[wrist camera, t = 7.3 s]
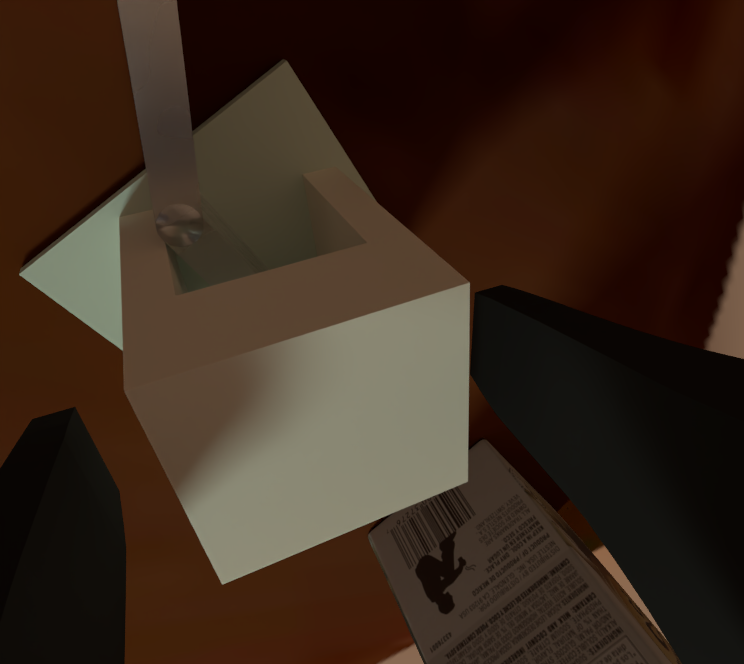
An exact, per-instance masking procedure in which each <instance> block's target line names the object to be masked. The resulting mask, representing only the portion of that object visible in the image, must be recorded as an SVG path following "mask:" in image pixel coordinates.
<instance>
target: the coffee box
mask: <svg viewBox="0 0 744 664" xmlns="http://www.w3.org/2000/svg"><path fill="white" fill-rule="evenodd" d="M368 538H369V541H370V543H371V546H372V548H373V550H374V552H375V554H376V557H377V559H378V561H379V563H380V565H381V568H382V570H383V572H384V574H385V576H386V579H387V581H388V583H389V586H390V588H391V590H392V592H393V595H394V597H395V599H396V601H397V604H398V606H399V608H400V610H401V612H402V615H403V617H404V619H405V622H406V624H407V626H408V629H409V631H410V633H411V636H412V638H413V640H414V642H415V644H416V647H417V649H418V651H419V654H420V656H421V658H422V660H423V662H424V664H682V663H681V661H680V660H679V658H678V657H677V655H676V653H675V652H674V650H673V649H672V647H671V645H670V644H669V643H668V641H667V640H666V639H665V638H664V637H663V636H662V634H661V633H660V632H659V631H658V630H657V628H656V627H655V626H654V625H653V624H652V622H651V621H650V620H649V619H648V618H647V617H646V615H645V614H644V613H643V612H642V611H641V609H640V608H639V607H638V606H637V605H636V603H635V602H634V601H633V600H632V599H631V598H630V597H629V595H628V594H627V593H626V592H625V591H624V589H623V588H622V587H621V586H620V585H619V583H618V582H617V581H616V580H615V579H614V578H613V577H612V575H611V574H610V573H609V572H608V571H607V570H606V568H605V567H604V566H603V565H602V564H601V563H600V561H599V560H598V559H597V558H596V557H595V556H594V554H593V553H592V552H591V551H590V550H589V549H588V547H587V546H586V545H585V544H584V543H583V541H582V540H581V539H580V538H579V537H578V536H577V535H576V533H575V532H574V531H573V530H572V529H571V528H570V527H569V525H568V524H567V523H566V522H565V521H564V520H563V519H562V518H561V516H560V515H559V514H558V513H557V512H556V511H555V510H554V509H553V508H552V506H551V505H550V504H549V503H548V502H547V501H546V500H545V499H544V498H543V497H542V496H541V495H540V494H539V493H538V492H537V491H536V490H535V489H534V488H533V487H532V486H531V485H530V484H529V483H528V482H527V481H526V480H525V479H524V478H523V477H522V476H521V475H520V474H519V473H518V472H517V471H516V470H515V469H514V468H513V467H512V466H511V465H510V464H509V463H508V462H507V461H506V460H505V458H504V457H503V456H502V455H501V454H500V453H499V452H498V451H497V450H496V449H495V448H494V447H493V446H492V445H491V444H490V443H489V442H488V441H487V440H484V439H483V440H481V441H479V442H478V443H477V444H476V445H474V446H473V447H472V448H471V449H470V450H468V482H466V483H463V484H461V485H459V486H456V487H454V488H452V489H449V490H447V491H444V492H442V493H440V494H437V495H435V496H432V497H430V498H428V499H425V500H423V501H421V502H418V503H416V504H413V505H411V506H409V507H406V508H404V509H401V510H399V511H397V512H394V513H393V514H391V515H390V516H389V517H388V518H386V519H385V520H384V521H383V522H382V523H380V524H379V525H378V526H377V527H375V528H374V529H373V530H372V531H371V532H370V533H369V536H368Z"/></svg>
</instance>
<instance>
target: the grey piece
mask: <svg viewBox="0 0 744 664" xmlns="http://www.w3.org/2000/svg"><path fill="white" fill-rule="evenodd" d="M117 3H118V9H119V14H120V20H121V26H122V32H123V38H124V44H125V49H126V55H127V61H128V67H129V73H130V78H131V84H132V90H133V96H134V102H135V108H136V113H137V119H138V125H139V131H140V137H141V143H142V148H143V154H144V160H145V166H146V172H147V178H148V183H149V190H150V196H151V202H152V207H153V213H154V219H155V225H156V230H157V233H158V235H159V236H160V237H161V239H162V240H163V241H164V242H165V243H167V244H168V245H169V246H170V247H171V248H172V249H173V250H174V251H175V252H176V253H177V254H178V255H179V256H180V257H181V258H182V259H183V260H184V261H185V262H186V263H187V264H188V265H189V266H190V267H191V268H193V269H194V270H195V271H196V272H197V273H198V274H199V275H200V276H201V277H202V278H203V279H204V280H205V281H206V282H207V283H208V284H209V285H210V286H213V285H217V284H220V283H224V282H228V281H231V280H235V279H239V278H242V277H246V276H249V275H253V274H257V273H260V272H264V271H267V270H269V268H268V267H267V266H266V265H265V264H264V263H263V262H262V261H261V260H260V258H259V257H258V256H257V255H256V254H255V253H254V252H253V251H252V250H251V249H250V247H249V246H248V245H247V244H246V243H245V242H244V241H243V240H242V239H241V237H240V236H239V235H238V234H237V233H236V232H235V231H234V230H233V229H232V228H231V226H230V225H229V224H228V223H227V222H226V221H225V220H224V219H223V218H222V216H221V215H220V214H219V213H218V212H217V211H216V210H215V209H214V208H213V207H212V205H211V204H210V203H209V202H208V201H207V200H206V199H205V198H204V197H203V195H202V194H201V193H200V191H199V182H198V174H197V166H196V158H195V149H194V141H193V133H192V124H191V116H190V108H189V99H188V91H187V83H186V75H185V66H184V58H183V50H182V41H181V33H180V25H179V16H178V8H177V0H117Z"/></svg>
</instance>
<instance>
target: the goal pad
mask: <svg viewBox="0 0 744 664" xmlns="http://www.w3.org/2000/svg"><path fill="white" fill-rule="evenodd" d="M192 133H193V141H194V149H195V158H196V166H197V174H198V182H199V191H200V193H201V194H202V195H203V197H204V198H205V199H206V200H207V201H208V202H209V203H210V204H211V205H212V207H213V208H214V209H215V210H216V211H217V212H218V213H219V214H220V215H221V216H222V218H223V219H224V220H225V221H226V222H227V223H228V224H229V225H230V226H231V228H232V229H233V230H234V231H235V232H236V233H237V234H238V235H239V236H240V237H241V239H242V240H243V241H244V242H245V243H246V244H247V245H248V246H249V247H250V249H251V250H252V251H253V252H254V253H255V254H256V255H257V256H258V257H259V258H260V260H261V261H262V262H263V263H264V264H265V265H266V266H267V267H268V268H269V270H271V269H275V268H278V267H282V266H285V265H289V264H293V263H296V262H300V261H303V260H307V259H311V258H314V257H317V252H316V247H315V241H314V236H313V230H312V225H311V219H310V214H309V208H308V203H307V197H306V192H305V186H304V181H303V175H302V174H306V173H310V172H314V171H318V170H323V169H327V168H331V167H337V168H338V169H339V170H340V171H341V172H342V173H344V174H345V175H346V176H347V177H348V178H349V179H351V180H352V181H353V182H354V183H355V184H356V185H357V186H359V187H360V188H361V189H362V190H363V191H364V192H366V193H367V194H368V195H369V196H370V197H371V198H373V199H374V200H375V198H374V197H373V195H372V194H371V192H370V191H369V189H368V187H367V186H366V184H365V183H364V181H363V180H362V178H361V176H360V175H359V173H358V172H357V170H356V169H355V167H354V165H353V164H352V162H351V161H350V159H349V158H348V156H347V154H346V153H345V151H344V150H343V148H342V147H341V145H340V143H339V142H338V140H337V139H336V137H335V136H334V134H333V132H332V131H331V129H330V128H329V126H328V125H327V123H326V121H325V120H324V118H323V117H322V115H321V114H320V112H319V110H318V109H317V107H316V106H315V104H314V103H313V101H312V99H311V98H310V96H309V95H308V93H307V92H306V90H305V88H304V87H303V85H302V84H301V82H300V81H299V79H298V77H297V76H296V74H295V73H294V71H293V70H292V68H291V66H290V65H289V63H288V62H287V61H286V60H284V59H282V60H281V61H280V62H279V63H277V64H276V65H275V66H274V67H272V68H271V69H270V70H269V71H267V72H266V73H265V74H264V75H262V76H261V77H260V78H259V79H257V80H256V81H255V82H254V83H252V84H251V85H250V86H249V87H247V88H246V89H245V90H244V91H242V92H241V93H240V94H239V95H237V96H236V97H235V98H234V99H232V100H231V101H230V102H229V103H227V104H226V105H225V106H224V107H222V108H221V109H220V110H219V111H217V112H216V113H215V114H214V115H212V116H211V117H210V118H209V119H207V120H206V121H205V122H204V123H202V124H201V125H200V126H199V127H197V128H196V129H195V130H193V131H192ZM375 201H376V200H375ZM152 209H153V207H152V202H151V196H150V190H149V183H148V178H147V172H146V169H145V170H143V171H142V172H141V173H140V174H138V175H137V176H136V177H135V178H133V179H132V180H131V181H130V182H128V183H127V184H126V185H125V186H123V187H122V188H121V189H120V190H118V191H117V192H116V193H115V194H113V195H112V196H111V197H110V198H108V199H107V200H106V201H104V202H103V203H102V204H101V205H99V206H98V207H97V208H96V209H94V210H93V211H92V212H91V213H89V214H88V215H87V216H86V217H84V218H83V219H82V220H81V221H79V222H78V223H77V224H76V225H74V226H73V227H72V228H71V229H69V230H68V231H67V232H66V233H64V234H63V235H62V236H61V237H59V238H58V239H57V240H56V241H54V242H53V243H52V244H51V245H49V246H48V247H47V248H46V249H44V250H43V251H42V252H41V253H39V254H38V255H37V256H36V257H34V258H33V259H32V260H31V261H29V262H28V263H27V264H26V265H24V266H23V267H22V268H21V269H20V273H19V275H20V276H22V277H23V278H25V279H26V280H27V281H29V282H30V283H31V284H33V285H34V286H35V287H37V288H38V289H40V290H41V291H42V292H44V293H45V294H46V295H48V296H49V297H50V298H52V299H53V300H54V301H56V302H57V303H59V304H60V305H61V306H63V307H64V308H65V309H67V310H68V311H69V312H71V313H72V314H74V315H75V316H76V317H78V318H79V319H80V320H82V321H83V322H84V323H86V324H87V325H89V326H90V327H91V328H93V329H94V330H95V331H97V332H98V333H99V334H101V335H102V336H104V337H105V338H106V339H108V340H109V341H110V342H112V343H113V344H114V345H116V346H117V347H119V348H120V349H121V350H123V336H122V302H121V268H120V235H119V217H122V216H127V215H131V214H135V213H139V212H144V211H148V210H152ZM173 251H174V250H173ZM174 254H175V256H176V259H177V262H178V265H179V268H180V270H181V273H182V276H183V279H184V282H185V284H186V287H187V290H188V292H192V291H195V290H199V289H202V288H206V287H210V285H209V284H208V283H207V282H206V281H205V280H204V279H203V278H202V277H201V276H200V275H199V274H198V273H197V272H196V271H195V270H194V269H193V268H191V267H190V266H189V265H188V264H187V263H186V262H185V261H184V260H183V259H182V258H181V257H180V256H179V255H178V254H177V253H176V252H175V251H174Z"/></svg>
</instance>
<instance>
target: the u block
mask: <svg viewBox="0 0 744 664" xmlns="http://www.w3.org/2000/svg"><path fill="white" fill-rule="evenodd" d="M302 175H303V181H304V186H305V192H306V197H307V203H308V208H309V214H310V219H311V225H312V230H313V236H314V241H315V247H316V252H317V257H314V258H311V259H307V260H303V261H300V262H296V263H293V264H289V265H285V266H282V267H278V268H275V269H271V270H267V271H264V272H260V273H257V274H253V275H249V276H246V277H242V278H239V279H235V280H231V281H228V282H224V283H220V284H217V285H213V286H210V287H206V288H202V289H199V290H195V291H192V292H188V290H187V287H186V284H185V282H184V279H183V276H182V273H181V270H180V268H179V265H178V262H177V259H176V256H175V254H174V251H173V249H172V248H171V247H170V246H169V245H168V244H167V243H165V242H164V241H163V240H162V239H161V237H160V236H159V235H158V233H157V230H156V225H155V219H154V213H153V209H152V210H148V211H144V212H139V213H135V214H131V215H127V216H122V217H119V235H120V268H121V302H122V336H123V369H124V392H125V394H126V396H127V398H128V400H129V402H130V403H131V405H132V407H133V409H134V411H135V413H136V415H137V417H138V419H139V421H140V423H141V425H142V427H143V429H144V431H145V433H146V435H147V437H148V439H149V441H150V443H151V445H152V447H153V449H154V451H155V453H156V455H157V457H158V459H159V461H160V463H161V465H162V467H163V469H164V471H165V473H166V475H167V477H168V479H169V480H170V482H171V484H172V486H173V488H174V490H175V492H176V494H177V496H178V498H179V500H180V502H181V504H182V506H183V508H184V510H185V512H186V514H187V516H188V518H189V520H190V522H191V524H192V526H193V528H194V530H195V532H196V534H197V536H198V538H199V540H200V542H201V544H202V546H203V548H204V550H205V552H206V554H207V556H208V557H209V559H210V561H211V563H212V565H213V567H214V569H215V571H216V573H217V575H218V577H219V579H220V581H221V583H222V585H223V584H225V583H227V582H230V581H232V580H235V579H237V578H239V577H242V576H244V575H246V574H249V573H251V572H254V571H256V570H258V569H261V568H263V567H266V566H268V565H270V564H273V563H275V562H277V561H280V560H282V559H285V558H287V557H289V556H292V555H294V554H297V553H299V552H301V551H304V550H306V549H308V548H311V547H313V546H316V545H318V544H320V543H323V542H325V541H328V540H330V539H332V538H335V537H337V536H339V535H342V534H344V533H347V532H349V531H351V530H354V529H356V528H359V527H361V526H363V525H366V524H368V523H370V522H373V521H375V520H378V519H380V518H382V517H385V516H387V515H390V514H392V513H394V512H397V511H399V510H401V509H404V508H406V507H409V506H411V505H413V504H416V503H418V502H421V501H423V500H425V499H428V498H430V497H432V496H435V495H437V494H440V493H442V492H444V491H447V490H449V489H452V488H454V487H456V486H459V485H461V484H463V483H466V482H468V423H469V312H470V282H469V281H467V280H466V279H465V278H464V277H463V276H462V275H460V274H459V273H458V272H457V271H456V270H455V269H454V268H452V267H451V266H450V265H449V264H448V263H447V262H445V261H444V260H443V259H442V258H441V257H440V256H438V255H437V254H436V253H435V252H434V251H433V250H432V249H430V248H429V247H428V246H427V245H426V244H425V243H423V242H422V241H421V240H420V239H419V238H418V237H416V236H415V235H414V234H413V233H412V232H411V231H410V230H408V229H407V228H406V227H405V226H404V225H403V224H401V223H400V222H399V221H398V220H397V219H396V218H395V217H393V216H392V215H391V214H390V213H389V212H388V211H386V210H385V209H384V208H383V207H382V206H381V205H379V204H378V203H377V202H376V201H375V200H374V199H373V198H371V197H370V196H369V195H368V194H367V193H366V192H364V191H363V190H362V189H361V188H360V187H359V186H357V185H356V184H355V183H354V182H353V181H352V180H351V179H349V178H348V177H347V176H346V175H345V174H344V173H342V172H341V171H340V170H339V169H338V168H337V167H331V168H327V169H323V170H318V171H314V172H310V173H306V174H302Z"/></svg>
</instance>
